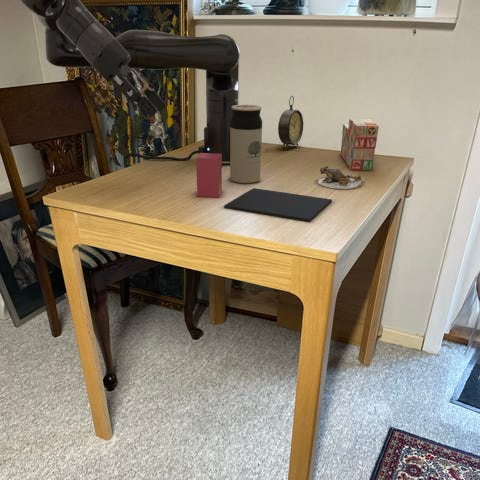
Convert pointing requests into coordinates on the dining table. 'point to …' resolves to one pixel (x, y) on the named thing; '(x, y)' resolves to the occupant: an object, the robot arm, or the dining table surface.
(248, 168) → the travel mug
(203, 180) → the block
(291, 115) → the alarm clock
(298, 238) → the dining table surface
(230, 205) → the mat
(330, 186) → the frog figurine
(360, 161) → the stack of blocks
